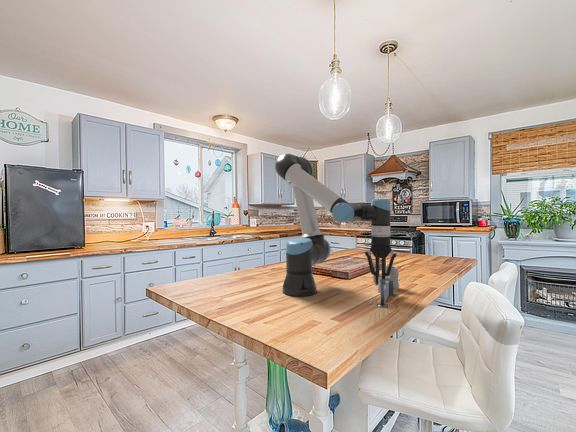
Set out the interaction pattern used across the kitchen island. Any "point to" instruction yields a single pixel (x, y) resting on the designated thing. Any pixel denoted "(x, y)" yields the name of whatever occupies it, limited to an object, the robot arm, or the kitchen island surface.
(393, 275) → the mug
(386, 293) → the gate
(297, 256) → the robot arm
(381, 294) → the hinge post
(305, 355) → the kitchen island surface
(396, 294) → the stop post
